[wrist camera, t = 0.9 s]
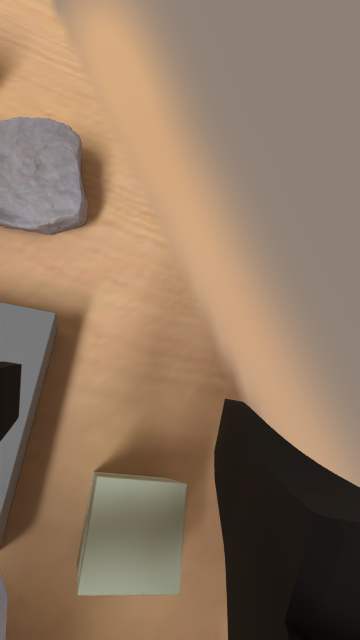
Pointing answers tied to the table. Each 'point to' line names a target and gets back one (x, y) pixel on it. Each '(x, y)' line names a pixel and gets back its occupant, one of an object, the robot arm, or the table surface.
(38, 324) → the stacking base
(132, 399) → the table surface
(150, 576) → the sage green cube
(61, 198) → the stone block
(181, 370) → the table surface
